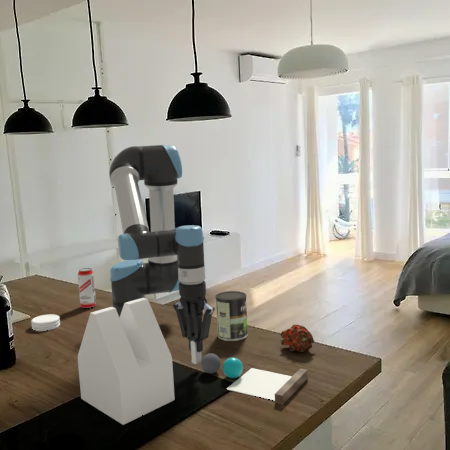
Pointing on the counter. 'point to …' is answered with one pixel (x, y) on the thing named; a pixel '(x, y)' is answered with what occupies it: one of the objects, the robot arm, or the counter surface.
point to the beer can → (86, 288)
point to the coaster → (45, 322)
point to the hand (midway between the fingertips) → (196, 361)
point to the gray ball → (210, 363)
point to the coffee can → (231, 315)
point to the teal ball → (232, 367)
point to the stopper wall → (291, 386)
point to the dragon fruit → (297, 338)
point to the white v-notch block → (125, 362)
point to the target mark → (259, 383)
